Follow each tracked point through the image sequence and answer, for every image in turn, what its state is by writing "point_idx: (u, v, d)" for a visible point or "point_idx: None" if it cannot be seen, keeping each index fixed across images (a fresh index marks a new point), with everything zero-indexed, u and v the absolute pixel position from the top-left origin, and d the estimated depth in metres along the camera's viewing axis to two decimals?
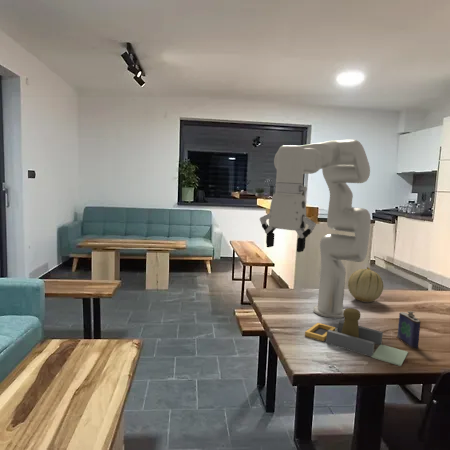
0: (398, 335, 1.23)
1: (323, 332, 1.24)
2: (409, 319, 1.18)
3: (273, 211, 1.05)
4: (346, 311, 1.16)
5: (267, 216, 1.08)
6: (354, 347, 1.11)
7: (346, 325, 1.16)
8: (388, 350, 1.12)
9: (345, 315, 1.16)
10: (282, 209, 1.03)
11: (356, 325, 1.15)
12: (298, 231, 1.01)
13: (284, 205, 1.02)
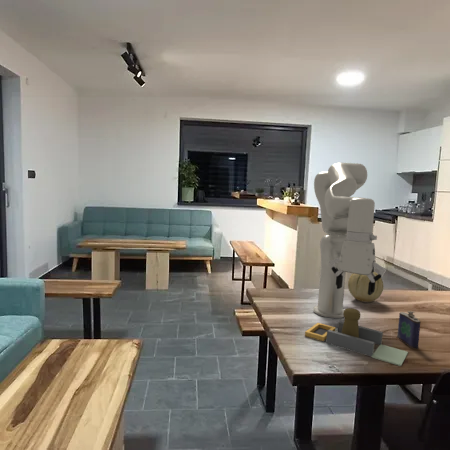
0: (398, 335, 1.23)
1: (323, 332, 1.24)
2: (409, 319, 1.18)
3: (344, 256, 1.15)
4: (346, 311, 1.16)
5: (337, 260, 1.18)
6: (354, 347, 1.11)
7: (346, 325, 1.16)
8: (388, 350, 1.12)
9: (345, 315, 1.16)
10: (353, 255, 1.13)
11: (356, 325, 1.15)
12: (369, 276, 1.11)
13: (356, 252, 1.12)
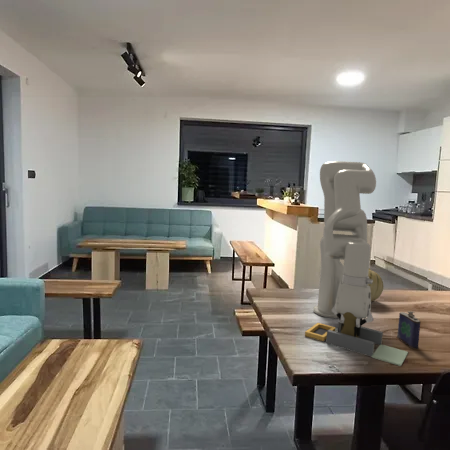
0: (398, 335, 1.23)
1: (323, 332, 1.24)
2: (409, 319, 1.18)
3: (340, 299, 1.16)
4: None
5: None
6: (354, 347, 1.11)
7: (345, 325, 1.16)
8: (388, 350, 1.12)
9: (344, 315, 1.16)
10: (349, 298, 1.14)
11: None
12: (357, 320, 1.14)
13: (352, 295, 1.14)
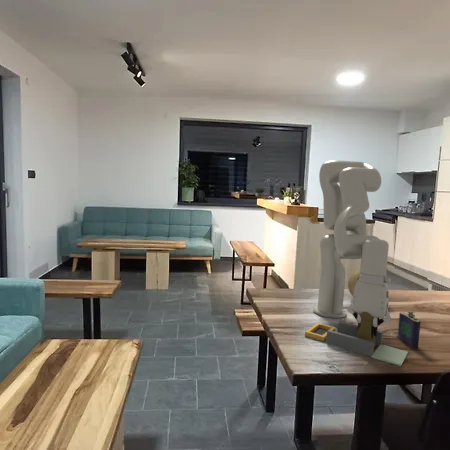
0: (398, 335, 1.23)
1: (323, 332, 1.24)
2: (409, 319, 1.18)
3: (357, 298, 1.13)
4: None
5: None
6: (354, 347, 1.11)
7: (362, 325, 1.13)
8: (388, 350, 1.12)
9: (361, 314, 1.13)
10: (367, 297, 1.11)
11: None
12: (375, 320, 1.11)
13: (369, 294, 1.11)
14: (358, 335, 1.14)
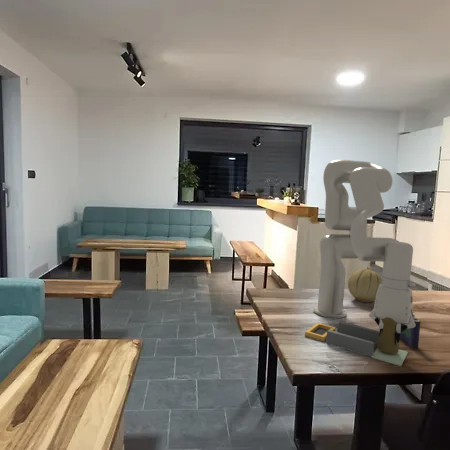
0: None
1: (323, 332, 1.24)
2: None
3: (379, 303, 1.10)
4: None
5: None
6: (354, 347, 1.11)
7: (384, 331, 1.09)
8: None
9: (383, 320, 1.09)
10: (390, 303, 1.08)
11: None
12: (398, 326, 1.08)
13: (392, 299, 1.07)
14: (380, 342, 1.10)
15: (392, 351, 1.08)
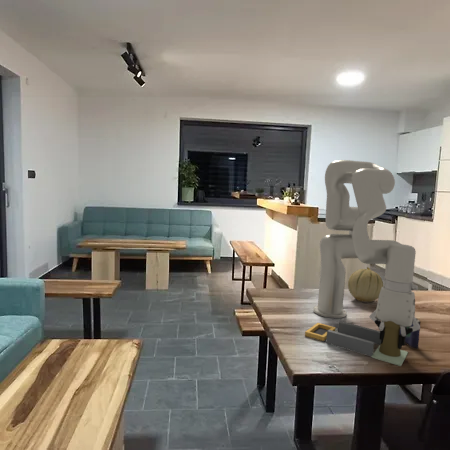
0: None
1: (323, 332, 1.24)
2: None
3: (382, 306, 1.09)
4: None
5: None
6: (354, 347, 1.11)
7: (386, 334, 1.09)
8: None
9: (385, 323, 1.09)
10: (392, 305, 1.07)
11: (398, 334, 1.08)
12: (402, 329, 1.07)
13: (395, 302, 1.07)
14: (382, 345, 1.10)
15: (394, 354, 1.08)
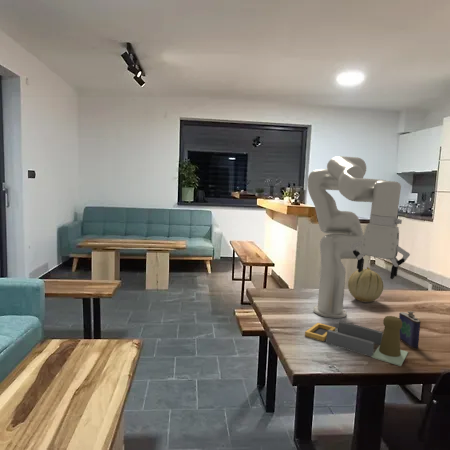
0: None
1: (323, 332, 1.24)
2: (409, 319, 1.18)
3: (367, 240, 1.13)
4: (386, 319, 1.09)
5: (359, 243, 1.17)
6: (354, 347, 1.11)
7: (386, 334, 1.09)
8: None
9: (385, 323, 1.09)
10: (377, 239, 1.11)
11: (398, 334, 1.08)
12: (392, 260, 1.10)
13: (380, 236, 1.11)
14: (382, 345, 1.10)
15: (394, 354, 1.08)
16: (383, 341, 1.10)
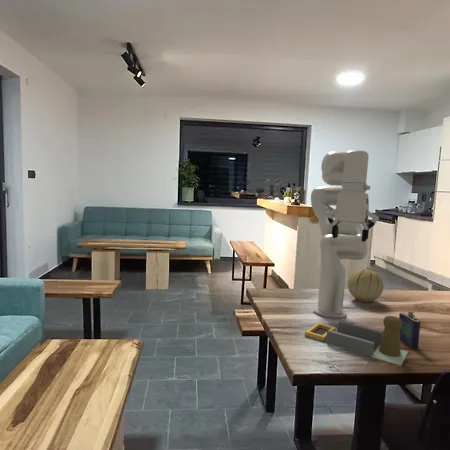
0: None
1: (323, 332, 1.24)
2: (409, 319, 1.18)
3: (340, 207, 1.22)
4: (386, 319, 1.09)
5: (333, 211, 1.25)
6: (354, 347, 1.11)
7: (386, 334, 1.09)
8: None
9: (385, 323, 1.09)
10: (348, 205, 1.20)
11: (398, 334, 1.08)
12: (363, 224, 1.19)
13: (350, 201, 1.19)
14: (382, 345, 1.10)
15: (394, 354, 1.08)
16: (383, 341, 1.10)
